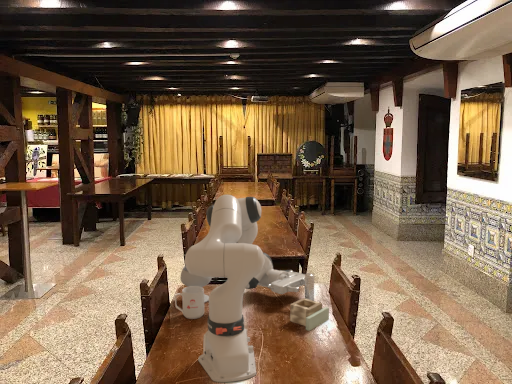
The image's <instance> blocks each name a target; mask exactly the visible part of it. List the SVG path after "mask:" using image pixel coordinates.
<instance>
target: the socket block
mask: <svg viewBox="0 0 512 384" xmlns="http://www.w3.org/2000/svg"><path fill="white" fill-rule="evenodd" d="M289 308H290V310H289V311H290V315H289V318H290V322H292V323H293V324H294V323H295V324H298V325H301V326H304V327H306V317H308V316H310V315H312V314H314V313H315V312H317V311H319V310H321V309H323V303H322V302H319V301H315V300H314V301H313V300H309V299H305V297H303V298H300V299H299V300H297V301H294V302H293V303H292V302H291V303H290V307H289Z"/></svg>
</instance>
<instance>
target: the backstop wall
mask: <svg viewBox="0 0 512 384" xmlns="http://www.w3.org/2000/svg"><path fill="white" fill-rule="evenodd" d="M328 320H330V308H329V307H328V306H325V307H322V309H321V310H319V311H317V312H315V313H314V314H312V315H310V316H308V317H306V326H305V330H306V331H308V332H310V331H311V330H313V329H315V328H316V327H318V326H319V325H322V324H323V323H325V322H327V321H328Z"/></svg>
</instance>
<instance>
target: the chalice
mask: <svg viewBox="0 0 512 384" xmlns="http://www.w3.org/2000/svg"><path fill="white" fill-rule="evenodd" d="M212 278H213V277H200V276H195V275H191V274H190V273H189V272H188V270H187V268H186V266H183V268H182V270H181V273H180V278H179V279H180V282H181V283H182V285H184V286H185V287H189V286H200V287H203V288H204V287H205V286H207V285H209V283H210V282H211V281H212V280H213V279H212ZM207 302H209V295H208V294H205V293H204V304H205V303H207Z"/></svg>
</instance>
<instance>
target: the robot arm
mask: <svg viewBox="0 0 512 384" xmlns="http://www.w3.org/2000/svg"><path fill="white" fill-rule="evenodd" d="M262 209H263V208H262V205H261V204H260V201H258V198H256V197H255V196H246V197H242V198H241V197H239V198H237V197H235V195H232V194H223V195H220V196H219V197H217V199H216V200H215V202H214V203H212V204H211V205H210V206H208V208H207V209H206V213H205V214H206V217H205V218H206V222H207V224H208V226H209V231H208V233H207V235H205V236H204V238H203V239H202V240H200V241H199V242H197V243H195V244H194V245H191V246H190V247H189V248H188V249H187V251H186V253H185V256H184V265H185V266H186V268H187V270H188V272H189V273H190V274H191V275H195V276H200V277H212V278H227V279H226V281H225V282H224V283H222V284H220V285H219V286H216V287H214V288H213V289H212V290H211V291H210V292H209V295H208V296H209V301H208V317H207V330H206V332H205V333H204V334H203V347H202V348H203V351H202V354H201V355H199V356H198V359H197V360H198V361H197V362H199V364H200V365H201V366H202V368H203V369H204V370H205V372H206V373H207V375H208V377H210V379H211V381H213V382H217V383H231V382H232V383H233V382H237V381H243V380H247V379H250V378H251V379H252V377H253V378H254V376H255V377H256V375H257V368H256V359H255V351H254V346H253V345H249V344H248V342H251V337H250V336H248V329H247V328H245V318H244V315H243V304H244V303H243V301H244V293H245V290H253V289H256V288H257V286H260V287H265V288H267V289H270V290H271V292H273V293H275V294H279V295H284V294H286V293H291V292H292V293H297V292H299V291H300V288H301V287H302V286H305V273H301V272H296V271H293V270H292V269H287V270H281V269H280V270H278V269H274V264H273V260H272V258H271V256H270V255H269V254H268V253H266V252H263V250H262V249H261V247H260V246H259V245H257V244H253V243H254V242H255V240H256V238H257V236H258V231H259V229H258V228H259V226H258V221H260V219H261V218H262ZM185 266H184V267H185Z"/></svg>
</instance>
